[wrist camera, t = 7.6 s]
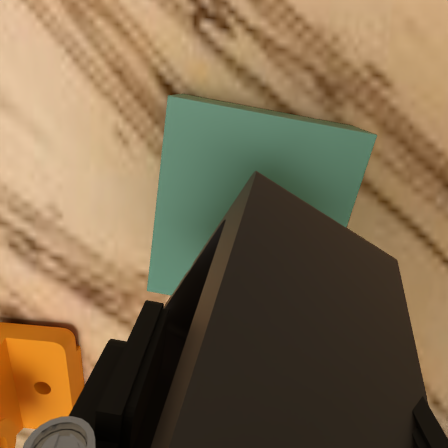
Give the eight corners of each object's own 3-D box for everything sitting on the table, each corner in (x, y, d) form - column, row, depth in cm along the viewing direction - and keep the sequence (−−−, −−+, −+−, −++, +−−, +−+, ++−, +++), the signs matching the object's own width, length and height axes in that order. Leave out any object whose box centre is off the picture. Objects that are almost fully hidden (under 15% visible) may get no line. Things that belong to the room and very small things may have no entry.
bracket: (87, 408, 36) (17, 553, 25) (18, 402, 36) (-82, 542, 25) (78, 323, 32) (-10, 449, 21) (0, 316, 32) (-128, 437, 21)
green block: (351, 125, 24) (377, 134, 20) (304, 283, 29) (315, 321, 25) (182, 93, 24) (167, 95, 20) (162, 258, 29) (146, 290, 24)
